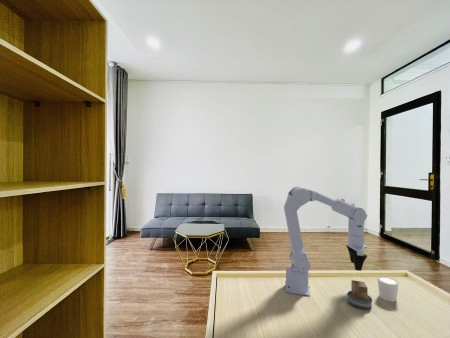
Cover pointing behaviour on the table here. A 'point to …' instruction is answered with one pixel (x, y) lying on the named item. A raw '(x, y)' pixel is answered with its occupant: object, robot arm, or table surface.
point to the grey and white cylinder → (388, 288)
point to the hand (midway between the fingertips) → (355, 266)
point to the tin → (359, 302)
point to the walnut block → (359, 290)
